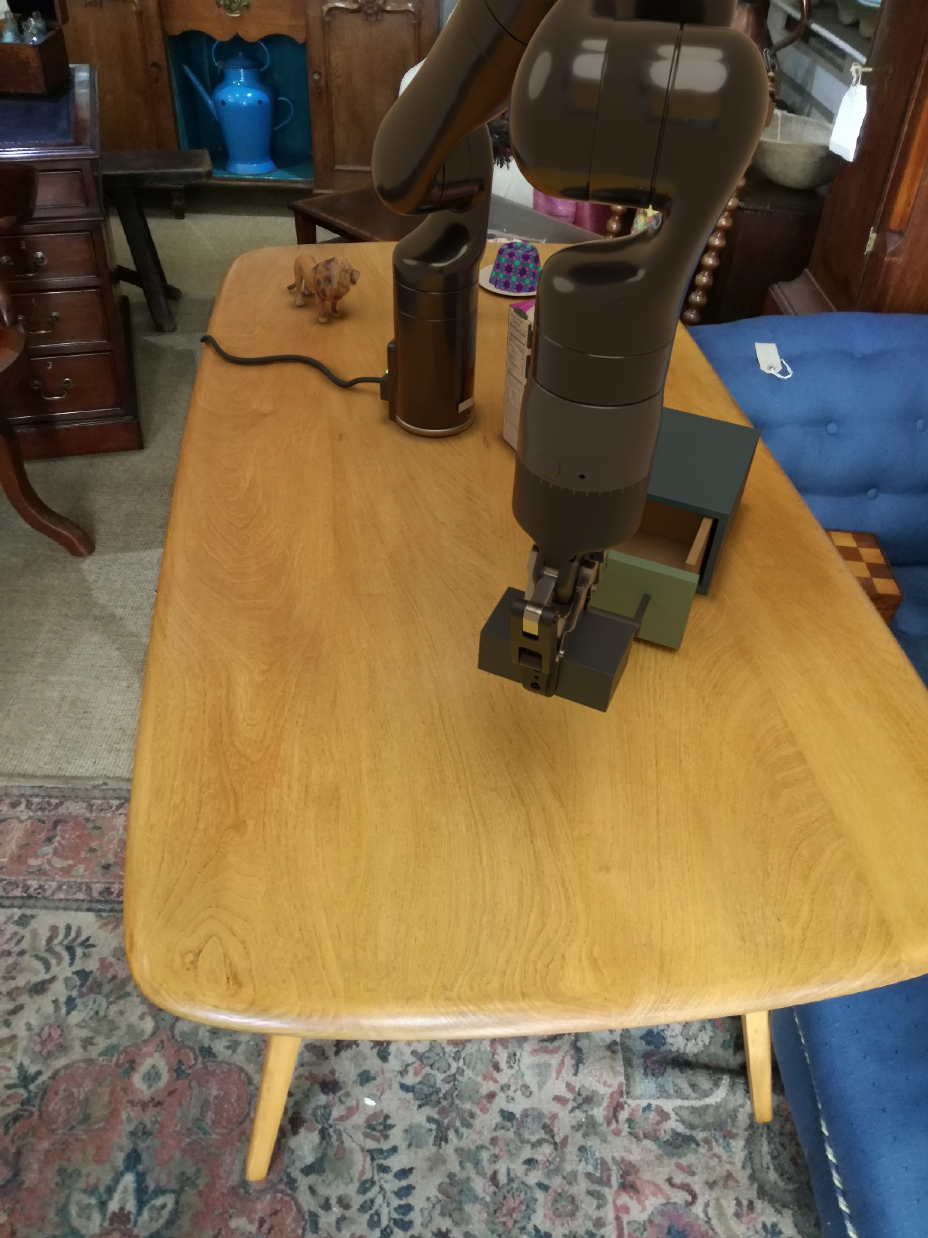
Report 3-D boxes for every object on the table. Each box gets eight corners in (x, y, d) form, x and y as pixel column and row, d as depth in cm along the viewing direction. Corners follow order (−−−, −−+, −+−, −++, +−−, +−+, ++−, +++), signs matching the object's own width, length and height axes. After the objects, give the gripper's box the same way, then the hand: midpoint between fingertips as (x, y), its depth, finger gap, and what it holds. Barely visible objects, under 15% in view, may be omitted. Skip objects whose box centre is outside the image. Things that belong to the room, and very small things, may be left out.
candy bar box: (579, 416, 112) (597, 283, 101) (602, 437, 109) (623, 301, 98) (498, 437, 108) (507, 301, 97) (520, 459, 105) (531, 320, 94)
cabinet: (706, 595, 89) (729, 514, 82) (571, 556, 92) (583, 475, 86) (739, 507, 99) (761, 429, 93) (616, 475, 103) (629, 398, 96)
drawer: (664, 687, 79) (682, 620, 73) (527, 643, 82) (534, 575, 77) (714, 555, 92) (732, 490, 86) (594, 522, 95) (604, 457, 90)
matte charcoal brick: (477, 669, 62) (479, 631, 60) (504, 622, 66) (508, 585, 63) (605, 713, 60) (613, 676, 58) (627, 662, 63) (636, 625, 61)
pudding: (568, 277, 142) (571, 242, 138) (537, 307, 134) (540, 271, 130) (496, 261, 145) (498, 226, 142) (462, 289, 137) (463, 253, 134)
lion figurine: (367, 321, 129) (364, 256, 122) (336, 333, 126) (332, 267, 120) (302, 287, 136) (296, 224, 130) (271, 297, 133) (264, 233, 127)
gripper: (613, 539, 45) (571, 758, 57) (685, 402, 55) (637, 613, 66) (470, 498, 47) (459, 717, 59) (564, 372, 57) (538, 582, 68)
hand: (553, 661), depth 63 cm, fingers closed on matte charcoal brick, 5 cm apart
